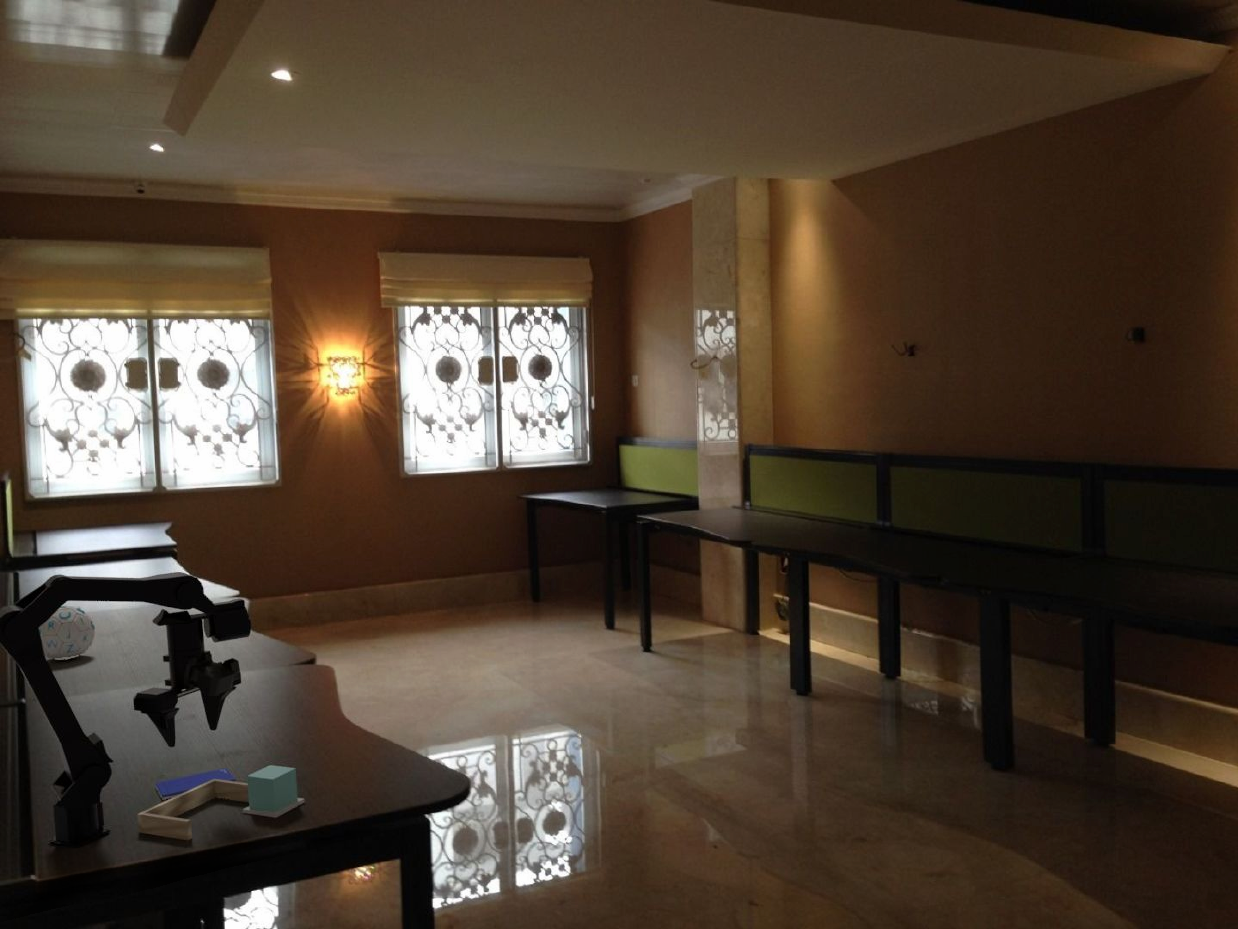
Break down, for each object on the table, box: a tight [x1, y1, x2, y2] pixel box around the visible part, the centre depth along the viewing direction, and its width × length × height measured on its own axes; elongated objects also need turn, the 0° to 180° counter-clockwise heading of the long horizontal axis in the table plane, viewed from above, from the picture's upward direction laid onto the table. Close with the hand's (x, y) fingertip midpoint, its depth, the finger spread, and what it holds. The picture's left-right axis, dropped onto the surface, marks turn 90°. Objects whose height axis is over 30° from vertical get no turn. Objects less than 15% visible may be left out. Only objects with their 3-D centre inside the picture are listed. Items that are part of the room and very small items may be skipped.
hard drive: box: [154, 767, 237, 801], centre depth 196 cm, size 2×8×12 cm
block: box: [246, 764, 299, 812], centre depth 183 cm, size 6×6×6 cm
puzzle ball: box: [38, 605, 96, 659], centre depth 304 cm, size 15×15×15 cm
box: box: [136, 779, 249, 841], centre depth 181 cm, size 17×11×3 cm, turn 156°
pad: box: [242, 797, 306, 819], centre depth 183 cm, size 7×7×1 cm
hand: (193, 738), depth 184 cm, fingers open, 9 cm apart
